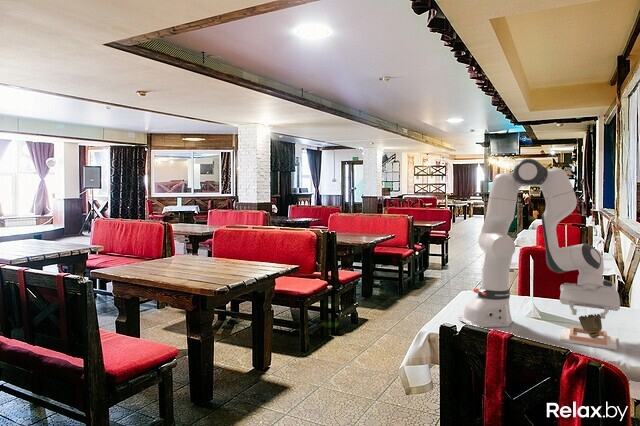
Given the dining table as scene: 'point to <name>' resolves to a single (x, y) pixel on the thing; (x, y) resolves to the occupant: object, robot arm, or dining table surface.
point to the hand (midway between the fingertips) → (588, 316)
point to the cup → (591, 324)
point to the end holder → (588, 338)
